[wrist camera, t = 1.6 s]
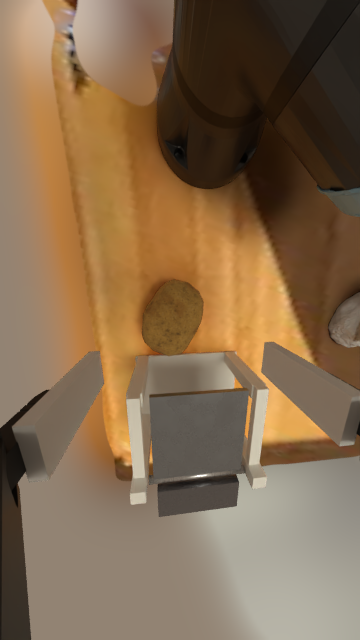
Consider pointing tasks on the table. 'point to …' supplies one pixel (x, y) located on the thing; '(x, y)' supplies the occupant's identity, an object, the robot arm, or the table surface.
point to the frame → (187, 377)
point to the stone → (347, 322)
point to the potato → (172, 318)
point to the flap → (197, 448)
